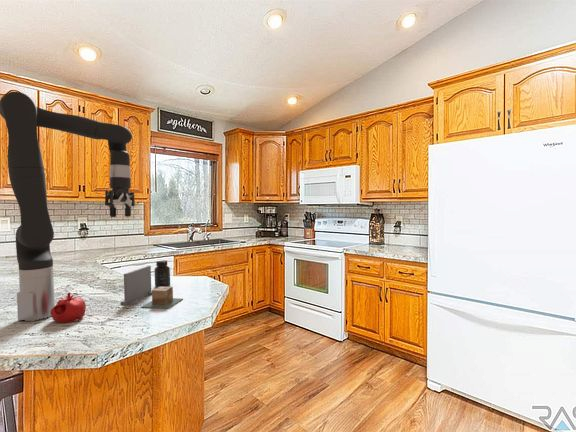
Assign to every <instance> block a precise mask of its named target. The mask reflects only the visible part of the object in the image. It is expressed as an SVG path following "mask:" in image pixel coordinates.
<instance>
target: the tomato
mask: <svg viewBox="0 0 576 432" xmlns="http://www.w3.org/2000/svg"><path fill="white" fill-rule="evenodd" d="M71 294H72V292H67V295H65V296H64V297H65V298H64V297H57V298H56V300H58V299H59V300H58V301H57V302H56V305H55V307H53V308H52V309H51V312H50V313H51V316H50V317H51V318H52V320H53V321H55V322H57V323H62V324H63V323H64V322H65V323H72V321H73V322H75V321H78V319H79V320H81V319H83V317H84V316H85V315H86V314H85V313H86V309H87V304H86V302H85V300H84V299H83V297H84V295H83V296H81V295H79V296H78V295H77V296H76V294H74V293H73V294H72V295H71ZM74 296H75V297H74Z"/></svg>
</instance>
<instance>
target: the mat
mask: <svg viewBox="0 0 576 432" xmlns="http://www.w3.org/2000/svg"><path fill="white" fill-rule="evenodd" d="M183 300H184V298H175V297H173V301H172V302H170V303H168V304H167V305H152V300H151V301H149V302H147V303H145V304H144V305H141V306H140V308H142V309H162V310H163V309H165V310H166V309H169V310H170V308H172V307H174V306H175V305H177V304H179V303H180V302H182V301H183Z"/></svg>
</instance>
